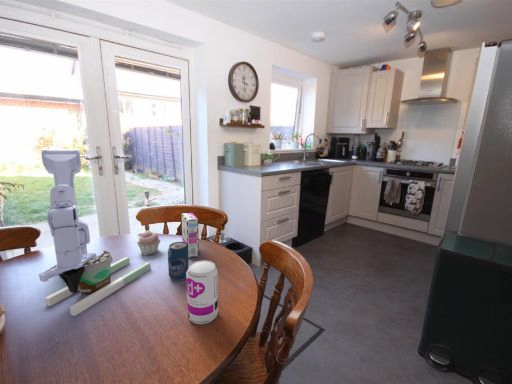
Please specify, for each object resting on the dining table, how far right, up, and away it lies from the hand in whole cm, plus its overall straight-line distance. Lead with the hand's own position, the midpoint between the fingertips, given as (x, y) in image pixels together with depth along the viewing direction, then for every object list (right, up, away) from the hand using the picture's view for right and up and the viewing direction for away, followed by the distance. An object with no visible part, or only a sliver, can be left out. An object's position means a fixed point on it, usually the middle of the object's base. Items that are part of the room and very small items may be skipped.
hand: (73, 291), depth 74 cm
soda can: (+26, -1, +16) cm, 31 cm away
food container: (+3, -2, +8) cm, 9 cm away
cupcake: (+8, +3, +34) cm, 35 cm away
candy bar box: (+25, +3, +35) cm, 43 cm away
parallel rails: (+3, -2, +10) cm, 10 cm away
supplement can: (+39, -5, -4) cm, 39 cm away
